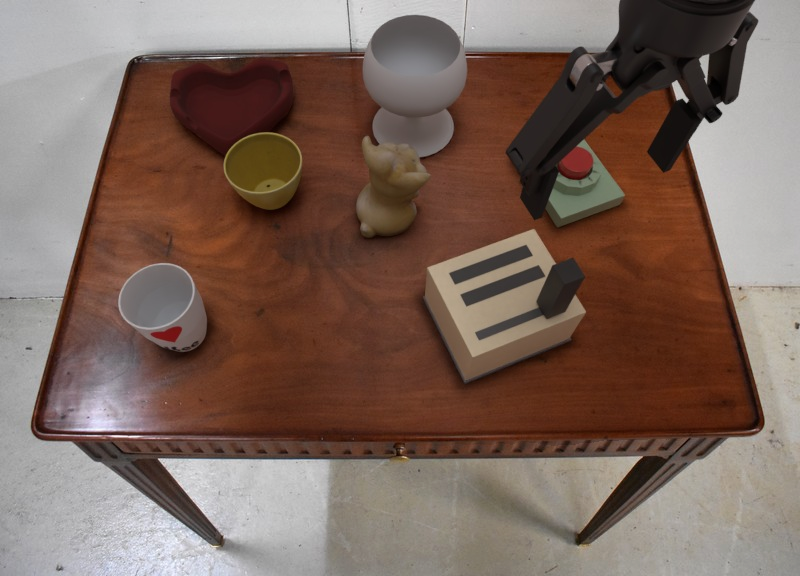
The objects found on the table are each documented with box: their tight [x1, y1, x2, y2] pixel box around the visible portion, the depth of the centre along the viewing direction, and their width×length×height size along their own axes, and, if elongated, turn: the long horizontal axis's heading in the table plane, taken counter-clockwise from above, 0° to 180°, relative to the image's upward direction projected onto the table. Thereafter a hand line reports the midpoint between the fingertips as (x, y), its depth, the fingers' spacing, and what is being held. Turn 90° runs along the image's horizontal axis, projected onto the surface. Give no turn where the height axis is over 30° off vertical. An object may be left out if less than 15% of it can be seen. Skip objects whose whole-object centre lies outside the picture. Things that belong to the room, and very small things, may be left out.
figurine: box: [355, 135, 432, 239], centre depth 74 cm, size 10×8×15 cm
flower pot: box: [223, 131, 303, 211], centre depth 80 cm, size 10×10×7 cm
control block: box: [545, 139, 626, 228], centre depth 82 cm, size 12×10×4 cm
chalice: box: [362, 14, 468, 158], centre depth 82 cm, size 14×14×15 cm
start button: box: [557, 147, 593, 180], centre depth 80 cm, size 4×4×2 cm
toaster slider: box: [536, 257, 586, 319], centre depth 62 cm, size 2×2×8 cm
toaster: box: [422, 228, 587, 385], centre depth 70 cm, size 12×14×8 cm
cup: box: [117, 262, 208, 353], centre depth 69 cm, size 8×8×10 cm
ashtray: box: [169, 56, 295, 157], centre depth 87 cm, size 18×16×5 cm
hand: (595, 184), depth 54 cm, fingers open, 13 cm apart
